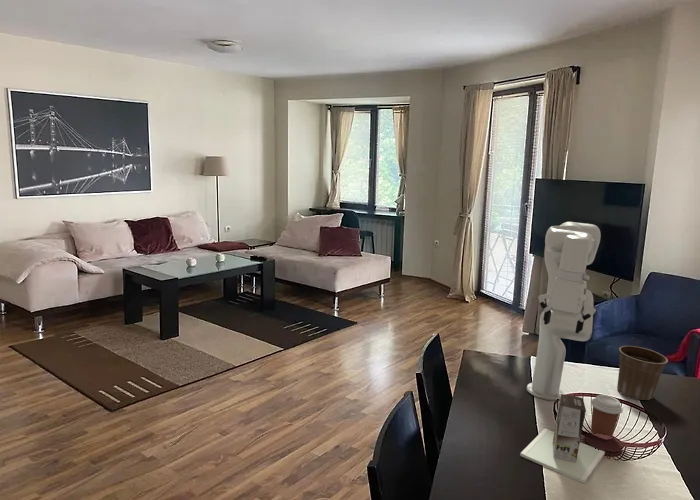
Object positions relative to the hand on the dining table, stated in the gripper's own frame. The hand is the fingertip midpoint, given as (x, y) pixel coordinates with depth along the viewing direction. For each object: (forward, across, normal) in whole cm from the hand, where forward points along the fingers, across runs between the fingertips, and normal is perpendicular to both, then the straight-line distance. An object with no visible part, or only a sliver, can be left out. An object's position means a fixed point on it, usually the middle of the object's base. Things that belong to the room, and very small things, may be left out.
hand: (562, 327), depth 172 cm
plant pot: (+34, -17, -49) cm, 62 cm away
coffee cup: (+33, -16, -6) cm, 37 cm away
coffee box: (+32, -11, +16) cm, 37 cm away
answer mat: (+32, -11, +16) cm, 38 cm away
